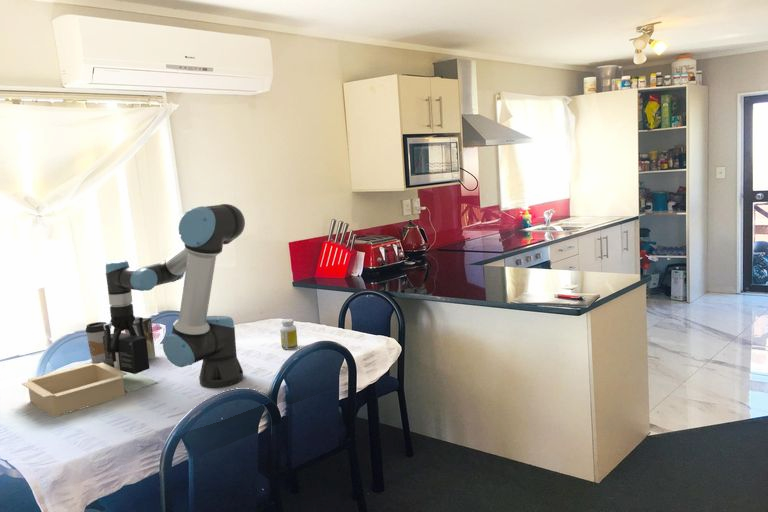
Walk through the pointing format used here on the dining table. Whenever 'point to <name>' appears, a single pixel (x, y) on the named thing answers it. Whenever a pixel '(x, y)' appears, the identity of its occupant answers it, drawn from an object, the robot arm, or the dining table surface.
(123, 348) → the box
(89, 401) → the tan open rectangular tray
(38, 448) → the dining table surface
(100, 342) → the coffee cup
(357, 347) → the dining table surface
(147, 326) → the coffee box
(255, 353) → the dining table surface
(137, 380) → the mat
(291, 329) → the pill bottle
